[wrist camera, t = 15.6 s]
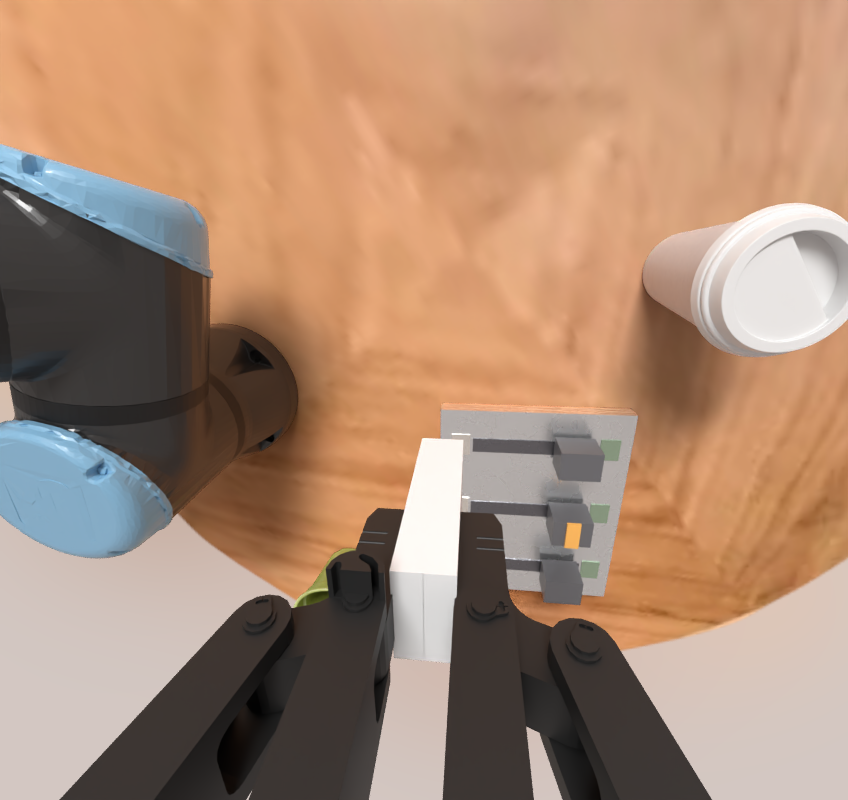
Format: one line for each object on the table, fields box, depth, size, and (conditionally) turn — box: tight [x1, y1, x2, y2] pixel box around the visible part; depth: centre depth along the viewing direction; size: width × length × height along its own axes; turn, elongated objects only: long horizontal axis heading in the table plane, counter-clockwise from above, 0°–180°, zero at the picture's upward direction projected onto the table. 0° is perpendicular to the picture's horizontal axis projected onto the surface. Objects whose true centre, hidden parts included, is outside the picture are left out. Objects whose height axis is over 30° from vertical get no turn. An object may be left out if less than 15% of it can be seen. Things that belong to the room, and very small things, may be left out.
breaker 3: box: [539, 559, 584, 605], centre depth 48 cm, size 4×3×4 cm
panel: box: [441, 403, 638, 596], centre depth 49 cm, size 20×24×2 cm
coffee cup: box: [643, 203, 848, 357], centre depth 32 cm, size 10×10×15 cm
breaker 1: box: [552, 437, 605, 482], centre depth 42 cm, size 4×3×4 cm
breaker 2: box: [546, 502, 594, 549], centre depth 45 cm, size 4×3×4 cm
